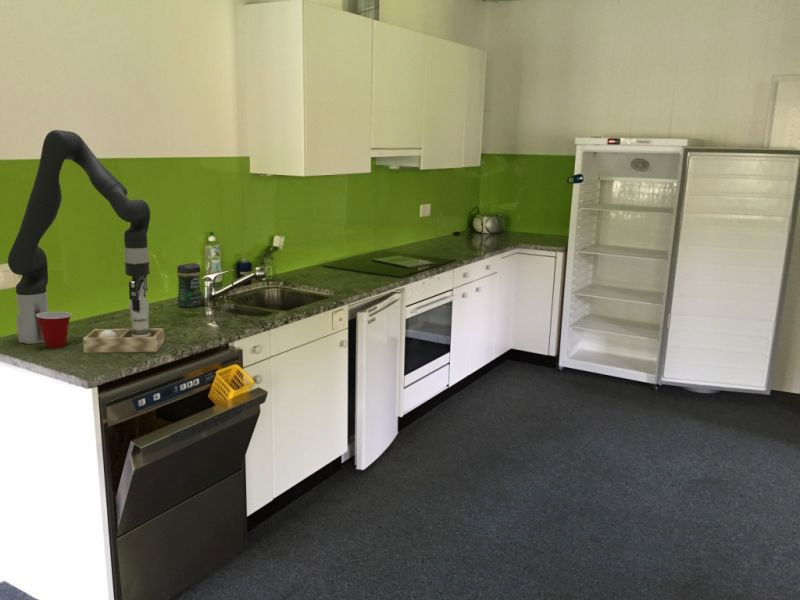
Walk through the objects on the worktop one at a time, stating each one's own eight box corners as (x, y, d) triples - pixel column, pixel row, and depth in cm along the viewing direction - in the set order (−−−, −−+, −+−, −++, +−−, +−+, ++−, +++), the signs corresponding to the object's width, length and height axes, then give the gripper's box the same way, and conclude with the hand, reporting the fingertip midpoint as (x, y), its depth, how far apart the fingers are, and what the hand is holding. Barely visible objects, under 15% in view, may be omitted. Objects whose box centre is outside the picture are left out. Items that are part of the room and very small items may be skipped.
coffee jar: (187, 309, 286) (185, 266, 282) (175, 306, 290) (173, 264, 286) (205, 305, 294) (203, 263, 290) (193, 302, 298) (191, 261, 294)
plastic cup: (81, 346, 230) (78, 312, 228) (50, 354, 221) (46, 318, 219) (63, 341, 236) (60, 308, 234) (32, 348, 227) (29, 313, 225)
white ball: (96, 349, 225) (95, 332, 224) (101, 344, 231) (100, 327, 229) (115, 349, 226) (113, 332, 224) (119, 344, 231) (118, 327, 230)
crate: (84, 354, 222) (82, 338, 220) (95, 344, 233) (94, 329, 232) (156, 353, 225) (155, 337, 224) (164, 343, 236) (163, 328, 235)
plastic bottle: (130, 349, 225) (126, 291, 221) (132, 344, 232) (128, 287, 227) (151, 348, 227) (147, 290, 223) (152, 343, 234) (148, 286, 229)
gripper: (130, 257, 229) (133, 303, 233) (119, 264, 216) (122, 313, 219) (153, 257, 230) (155, 303, 234) (143, 264, 217) (146, 313, 220)
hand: (139, 308), depth 227 cm, fingers open, 8 cm apart
